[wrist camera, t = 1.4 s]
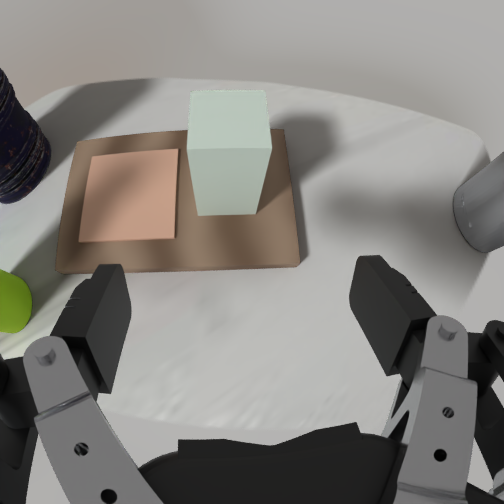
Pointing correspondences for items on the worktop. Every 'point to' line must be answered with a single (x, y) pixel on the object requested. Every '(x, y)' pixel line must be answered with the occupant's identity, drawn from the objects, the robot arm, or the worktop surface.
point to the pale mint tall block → (228, 150)
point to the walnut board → (184, 218)
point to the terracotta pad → (130, 197)
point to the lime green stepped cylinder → (14, 303)
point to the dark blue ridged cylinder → (19, 147)
